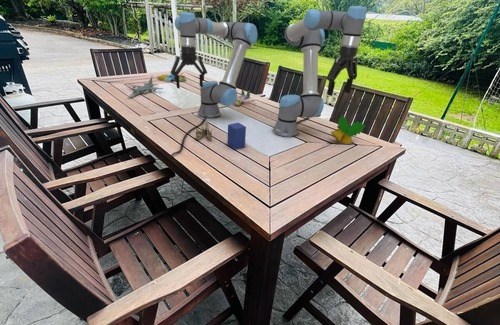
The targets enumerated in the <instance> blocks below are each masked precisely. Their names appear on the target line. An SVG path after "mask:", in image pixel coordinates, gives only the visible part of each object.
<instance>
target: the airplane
mask: <svg viewBox="0 0 500 325" xmlns="http://www.w3.org/2000/svg"><path fill="white" fill-rule="evenodd" d="M153 77H154V76H153V75H151V76H150V78H149V80H148V81H147V82H148V83H147V82H143V85H136V84H128V86H129V87H132V88H131V90H133V92H131V93H130V94H129V95H128V97H127V99H132V98H135V97H137V96H139V95H140V94H144V95H145V94H147V93H149V92H150V91H151V92H152V93H154V92H155V91H157V90H163V89H164V87H155V86H160V83H159V84H158V83H153ZM134 89H135V90H134Z"/></svg>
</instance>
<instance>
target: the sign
mask: <svg viewBox="0 0 500 325" xmlns="http://www.w3.org/2000/svg"><path fill="white" fill-rule="evenodd" d="M178 76H179V82H181V83H182V82H185V81H187V79H186V78H185V77H186V76H185V75H181V74H178ZM156 78H157V79H158V80H159V81H164V82H175V79H174V75H172V74H162V75H158V76H156Z"/></svg>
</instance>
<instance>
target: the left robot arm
mask: <svg viewBox="0 0 500 325" xmlns="http://www.w3.org/2000/svg"><path fill="white" fill-rule="evenodd" d="M174 27H175V29H176V30H177V31H179V33H180V52H181V53H180V54H181V56H178V55H175V57H174V58H175V60H174V62H173V65H172V67H171V70H170V75H174V79H175V81H174V82H175V84H176V88H177V89H180V88H181V87H180V86H181V85H180V81H179V76H178V75H180V73H181V71H182V70H183V68H184V67H185V66H194V67H195V68H196V70H197V71H198V72H199V77H198V78H199V87H200V88H199V89H200V92H199V93H200V106H199V109H198V116H199V117H201V118H203V119H202V122H201V123H200V124H198V125H196V126H193V127H192V128H191V129H189V130H188V131H186V133H185V134H184V135H183V138H182V141H181V145H180V149H179V150H178V151H174V152H172V153H171V154H170V156H169V159H172V157H173V156H174V155H176V154H179V153H181V152H182V151H183V147H184V142H185V139H186V137H187V136H188V135H189V133H191V132H192V131H193V130H195V129H196V128H198V127H200V126H201V125H203V123H205V120H206V119H214V118H219V117H221V110H220V108H219V105H222V106H227V107H230V106H232V105H234V103H235V101H236V99H237V97H238V91H237V86H236V83H237V80H238V77H239V74H240V72H241V69H242V65H243V63H244V59H245V57H246V53H247V51H248V50H249V49H251V46H252V45H254V44H256V42H257V41H258V29H257V26H256V25H255V24H254V23H250V22H240V21H239V22H238V21H220V22H217V21H212V20H211V19H210V18H206V17H196V14H195V13H194V12H186V11H181V12H179V16H176V17H175V19H174ZM196 34H198V35H208V36H215V37H218V38H221V39H224V40H227V41H231V42H233V44H234V45H233V48H232V51H231V54H230V57H229V60H228V63H227V66H226V69H225V72H224V75H223V78H222V79H221V80H219V83H218V81H216V80H209V81H205V75H206V74H208V71H207V68H206V67H205V64H204V62H203V57H202V56H201V55H197V48H196V44H197V43H196V40H197V39H196ZM180 61H181V62H180ZM197 61H198V63H197ZM179 63H180V64H179ZM198 64H199V65H198Z"/></svg>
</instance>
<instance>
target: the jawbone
mask: <svg viewBox="0 0 500 325" xmlns="http://www.w3.org/2000/svg"><path fill="white" fill-rule="evenodd" d="M195 129H196V131H195V139H196V140H199V141H200V139H201V138H203V137H205V136H206V137H207V139H208V141H212V137H213V134H212V130H213V129H211V130H210V127H209V119H205V120H204V126H202V127H201V130H199V129H198V127H196V128H195Z"/></svg>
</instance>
